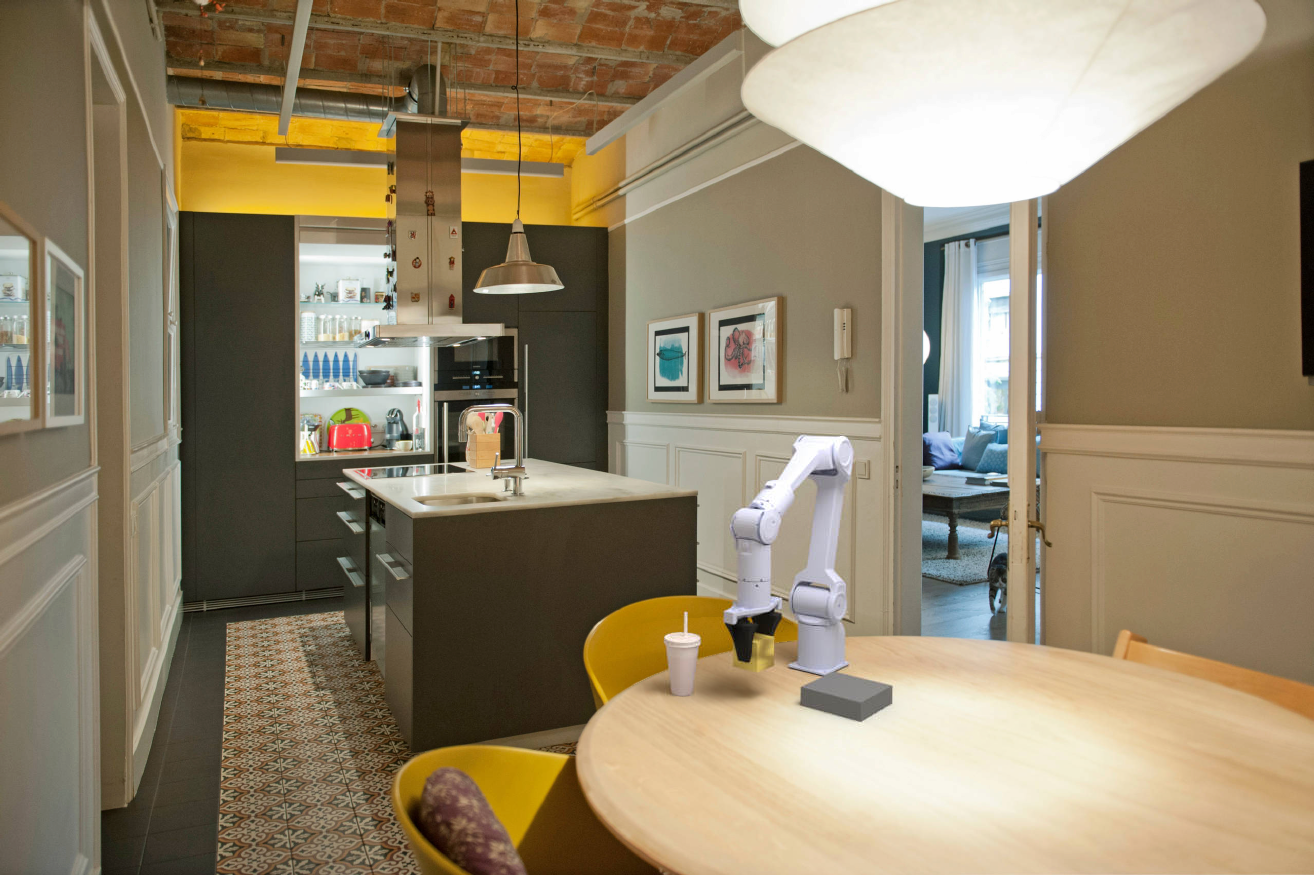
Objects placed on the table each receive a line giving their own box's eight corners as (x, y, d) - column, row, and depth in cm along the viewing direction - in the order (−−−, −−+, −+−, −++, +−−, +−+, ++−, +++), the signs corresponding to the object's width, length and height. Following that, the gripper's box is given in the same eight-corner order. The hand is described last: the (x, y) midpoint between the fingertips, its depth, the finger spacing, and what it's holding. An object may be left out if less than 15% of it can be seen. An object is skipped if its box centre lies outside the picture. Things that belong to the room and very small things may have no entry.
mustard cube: (749, 659, 147) (750, 631, 146) (773, 665, 143) (774, 636, 143) (732, 666, 143) (733, 637, 143) (757, 672, 140) (757, 642, 139)
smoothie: (701, 699, 141) (701, 617, 141) (663, 698, 142) (663, 616, 141) (700, 686, 148) (700, 608, 147) (663, 686, 148) (664, 607, 147)
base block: (833, 691, 147) (833, 671, 147) (892, 706, 140) (892, 685, 140) (800, 707, 139) (800, 686, 139) (860, 724, 132) (861, 702, 131)
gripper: (758, 569, 151) (758, 644, 151) (709, 582, 140) (708, 662, 140) (792, 574, 146) (791, 651, 147) (743, 588, 135) (743, 671, 136)
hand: (753, 657), depth 143 cm, fingers closed on mustard cube, 5 cm apart
